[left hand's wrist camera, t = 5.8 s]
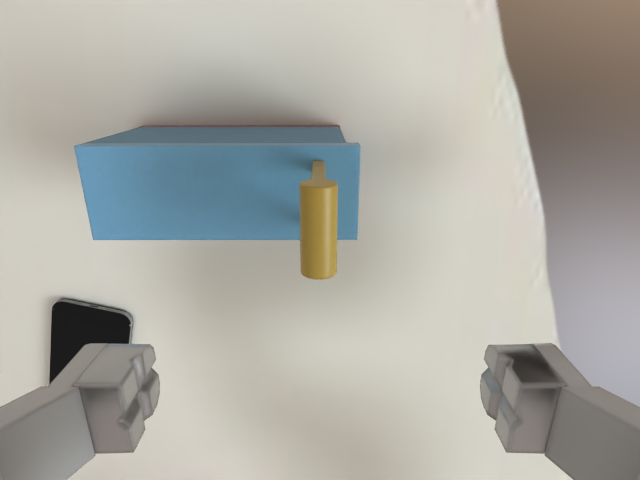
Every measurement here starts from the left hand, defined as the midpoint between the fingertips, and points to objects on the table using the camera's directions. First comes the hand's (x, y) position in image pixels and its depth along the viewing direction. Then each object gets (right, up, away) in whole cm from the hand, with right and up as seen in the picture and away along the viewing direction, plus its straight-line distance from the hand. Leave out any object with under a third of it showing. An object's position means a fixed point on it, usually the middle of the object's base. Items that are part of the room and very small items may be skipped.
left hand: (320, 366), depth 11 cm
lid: (-6, +6, +16) cm, 18 cm away
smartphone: (-23, -10, +32) cm, 41 cm away
